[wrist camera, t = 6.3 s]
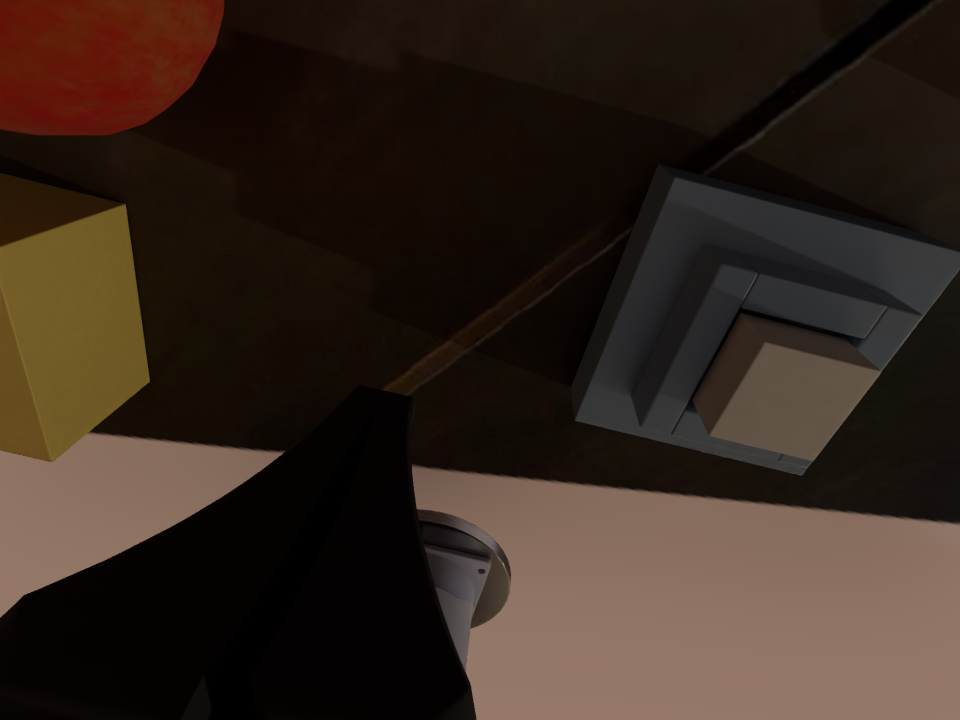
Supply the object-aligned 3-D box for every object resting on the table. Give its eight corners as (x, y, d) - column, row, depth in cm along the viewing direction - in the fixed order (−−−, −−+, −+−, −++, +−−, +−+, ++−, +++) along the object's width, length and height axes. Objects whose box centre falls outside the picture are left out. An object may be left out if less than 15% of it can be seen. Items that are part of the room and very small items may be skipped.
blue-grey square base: (777, 438, 24) (825, 512, 20) (570, 387, 23) (577, 452, 19) (921, 232, 18) (1023, 276, 15) (658, 163, 18) (691, 190, 14)
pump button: (786, 423, 18) (813, 461, 16) (691, 400, 18) (708, 436, 16) (845, 338, 16) (882, 371, 15) (740, 311, 16) (765, 341, 15)
